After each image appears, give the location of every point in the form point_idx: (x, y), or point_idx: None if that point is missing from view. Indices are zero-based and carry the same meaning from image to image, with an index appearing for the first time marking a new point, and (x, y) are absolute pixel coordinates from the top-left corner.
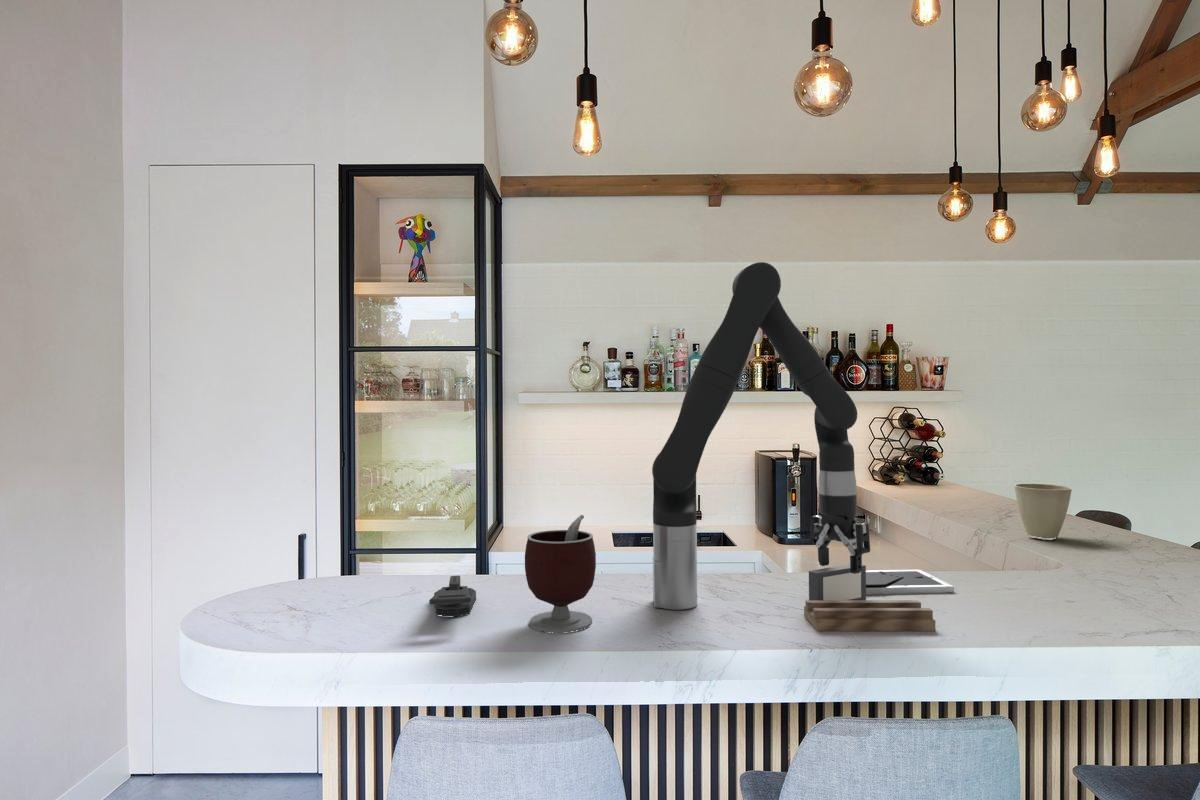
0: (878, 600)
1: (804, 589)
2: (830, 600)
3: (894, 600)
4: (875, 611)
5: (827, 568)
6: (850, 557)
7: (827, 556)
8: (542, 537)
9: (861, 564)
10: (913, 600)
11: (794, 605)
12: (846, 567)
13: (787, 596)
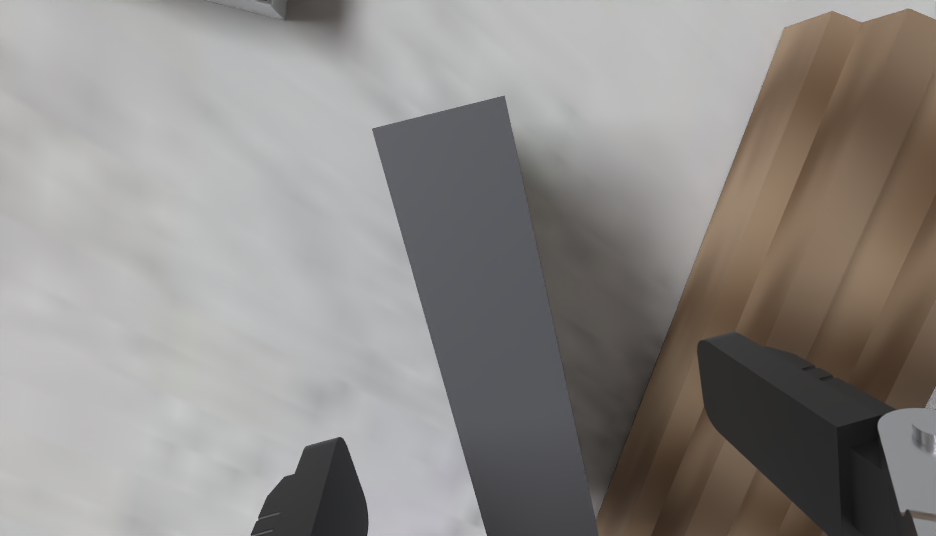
0: (802, 265)
1: (93, 333)
2: (691, 519)
3: (844, 167)
4: (925, 392)
5: (503, 528)
6: (826, 526)
7: (333, 508)
8: None
9: (824, 375)
10: (899, 40)
11: (409, 524)
12: (525, 351)
13: (237, 492)
